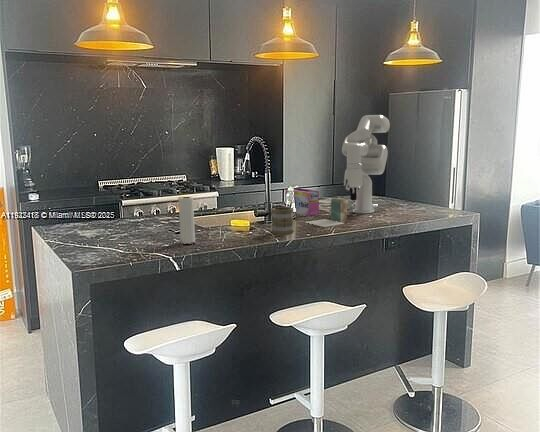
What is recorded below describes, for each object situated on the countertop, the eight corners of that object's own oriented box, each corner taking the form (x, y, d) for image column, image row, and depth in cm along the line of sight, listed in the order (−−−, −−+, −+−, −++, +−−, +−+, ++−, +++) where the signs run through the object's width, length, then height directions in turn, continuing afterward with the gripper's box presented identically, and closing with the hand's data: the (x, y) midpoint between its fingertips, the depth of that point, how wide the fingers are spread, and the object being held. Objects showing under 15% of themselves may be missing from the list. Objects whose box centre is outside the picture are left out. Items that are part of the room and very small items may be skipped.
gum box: (283, 210, 327) (283, 188, 325) (294, 209, 332) (293, 187, 329) (309, 216, 308) (308, 192, 306) (319, 214, 313) (319, 191, 310)
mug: (295, 234, 260) (295, 209, 258) (273, 235, 258) (273, 211, 256) (289, 228, 275) (289, 204, 273) (268, 229, 273) (268, 205, 271)
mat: (324, 219, 296) (324, 219, 296) (344, 223, 283) (344, 223, 283) (304, 222, 288) (304, 222, 288) (324, 227, 275) (324, 226, 275)
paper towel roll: (196, 244, 242) (194, 197, 238) (182, 246, 241) (180, 198, 237) (193, 241, 249) (191, 195, 245) (180, 242, 247) (178, 196, 244)
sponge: (336, 219, 296) (336, 197, 293) (346, 221, 289) (346, 199, 287) (330, 220, 293) (330, 198, 291) (340, 222, 287) (340, 200, 285)
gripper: (359, 165, 299) (358, 198, 302) (338, 167, 291) (338, 200, 294) (368, 166, 293) (368, 199, 296) (348, 167, 285) (348, 202, 288)
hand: (353, 200), depth 295 cm, fingers closed
